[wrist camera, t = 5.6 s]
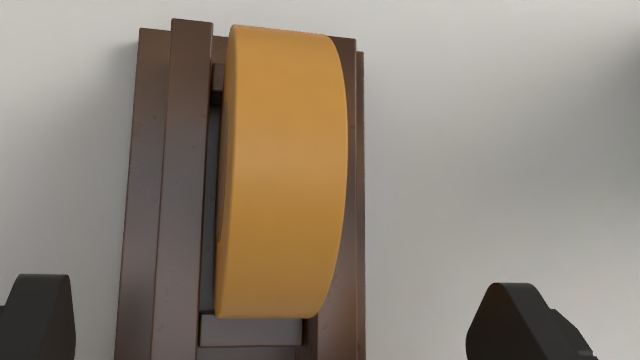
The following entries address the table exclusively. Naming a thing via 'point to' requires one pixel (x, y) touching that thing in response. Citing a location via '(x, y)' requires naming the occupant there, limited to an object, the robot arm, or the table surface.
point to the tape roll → (279, 174)
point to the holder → (199, 213)
